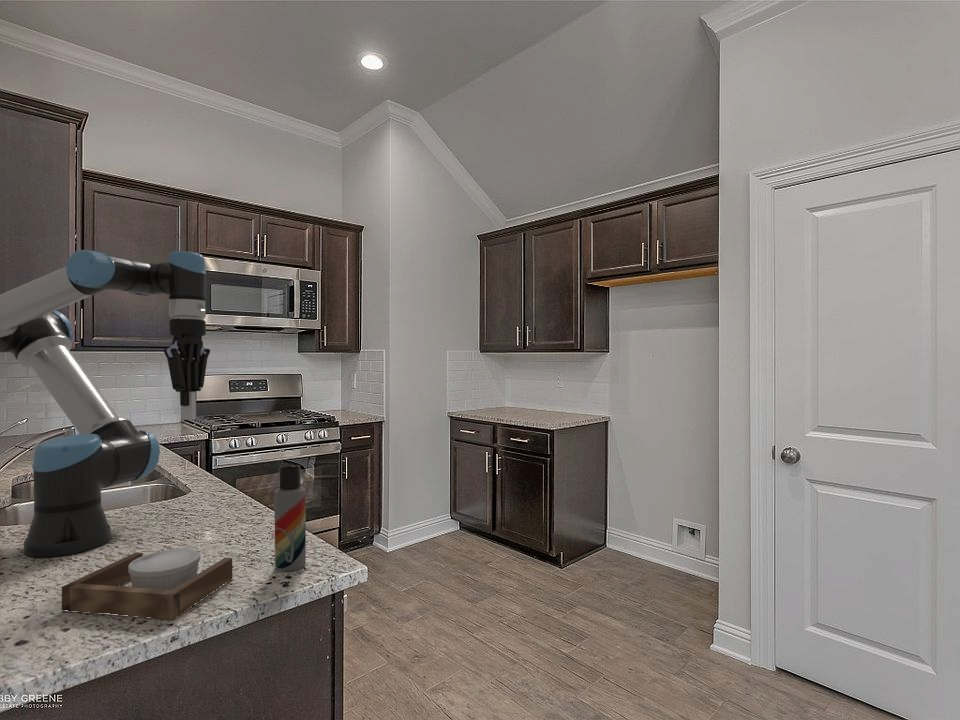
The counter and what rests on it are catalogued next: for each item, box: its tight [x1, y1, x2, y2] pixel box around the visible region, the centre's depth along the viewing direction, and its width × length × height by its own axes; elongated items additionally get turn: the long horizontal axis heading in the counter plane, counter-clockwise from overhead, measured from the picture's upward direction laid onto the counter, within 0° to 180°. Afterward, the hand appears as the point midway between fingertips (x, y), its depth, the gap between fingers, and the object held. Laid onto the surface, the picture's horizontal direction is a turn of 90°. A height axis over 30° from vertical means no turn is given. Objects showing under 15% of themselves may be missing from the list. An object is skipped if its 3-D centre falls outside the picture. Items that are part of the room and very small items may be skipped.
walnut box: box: [61, 552, 233, 620], centre depth 92 cm, size 20×15×4 cm
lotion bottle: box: [274, 464, 307, 572], centre depth 104 cm, size 6×6×20 cm
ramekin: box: [128, 548, 201, 590], centre depth 95 cm, size 11×11×5 cm
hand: (188, 419), depth 125 cm, fingers closed
